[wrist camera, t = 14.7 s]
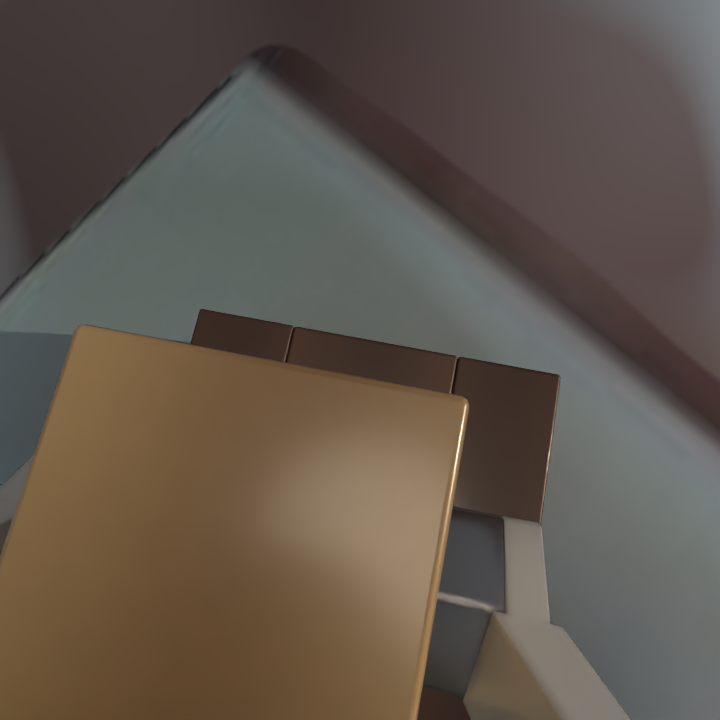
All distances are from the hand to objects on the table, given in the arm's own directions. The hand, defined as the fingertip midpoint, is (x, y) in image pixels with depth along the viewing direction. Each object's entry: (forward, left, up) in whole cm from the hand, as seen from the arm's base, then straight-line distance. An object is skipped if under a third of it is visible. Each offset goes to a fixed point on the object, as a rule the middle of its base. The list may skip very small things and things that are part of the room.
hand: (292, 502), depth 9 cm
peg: (0, -1, -4) cm, 4 cm away
